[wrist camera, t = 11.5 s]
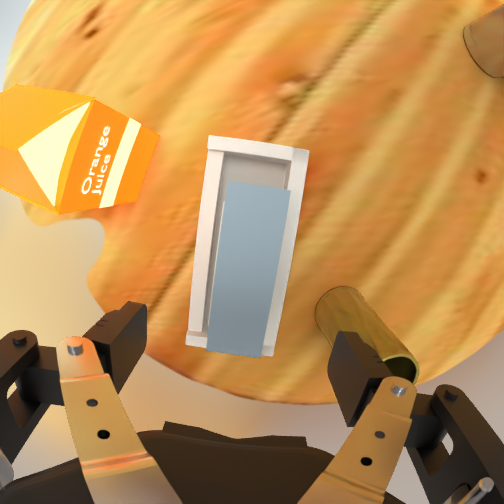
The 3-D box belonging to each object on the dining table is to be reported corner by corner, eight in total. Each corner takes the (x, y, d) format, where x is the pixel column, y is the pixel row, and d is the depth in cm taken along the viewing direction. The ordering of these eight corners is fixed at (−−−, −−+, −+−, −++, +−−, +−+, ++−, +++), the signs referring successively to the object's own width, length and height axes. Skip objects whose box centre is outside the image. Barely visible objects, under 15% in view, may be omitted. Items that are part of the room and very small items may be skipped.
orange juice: (136, 203, 30) (1, 230, 10) (73, 179, 29) (-66, 186, 10) (161, 133, 28) (46, 69, 9) (95, 115, 28) (-34, 67, 8)
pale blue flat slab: (276, 189, 28) (290, 190, 18) (256, 306, 31) (260, 357, 21) (232, 183, 28) (224, 180, 18) (216, 300, 31) (202, 349, 21)
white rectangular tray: (300, 155, 29) (309, 150, 25) (269, 335, 33) (272, 356, 29) (214, 142, 29) (209, 135, 24) (192, 325, 33) (185, 344, 28)
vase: (333, 276, 32) (387, 337, 18) (374, 299, 33) (437, 361, 19) (304, 322, 33) (336, 402, 19) (346, 341, 34) (391, 418, 20)
